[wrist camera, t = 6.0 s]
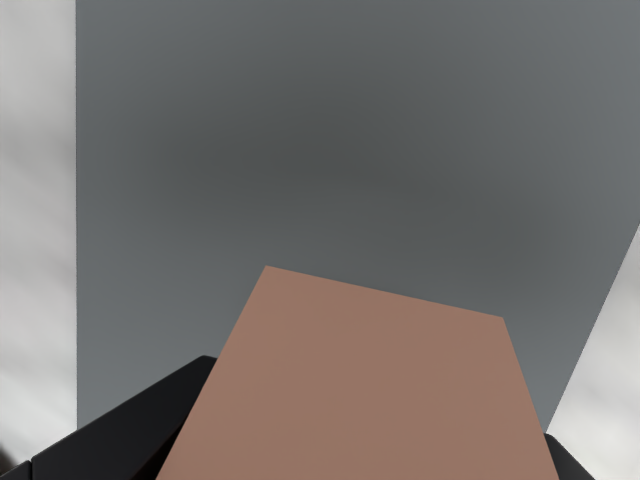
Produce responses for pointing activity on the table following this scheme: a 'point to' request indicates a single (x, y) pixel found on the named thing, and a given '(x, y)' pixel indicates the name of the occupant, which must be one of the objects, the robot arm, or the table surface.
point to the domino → (360, 392)
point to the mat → (349, 169)
